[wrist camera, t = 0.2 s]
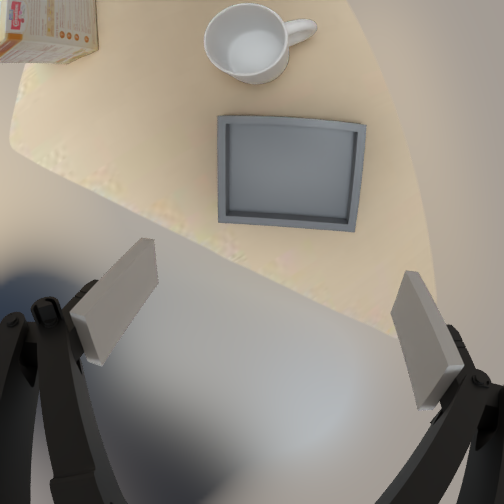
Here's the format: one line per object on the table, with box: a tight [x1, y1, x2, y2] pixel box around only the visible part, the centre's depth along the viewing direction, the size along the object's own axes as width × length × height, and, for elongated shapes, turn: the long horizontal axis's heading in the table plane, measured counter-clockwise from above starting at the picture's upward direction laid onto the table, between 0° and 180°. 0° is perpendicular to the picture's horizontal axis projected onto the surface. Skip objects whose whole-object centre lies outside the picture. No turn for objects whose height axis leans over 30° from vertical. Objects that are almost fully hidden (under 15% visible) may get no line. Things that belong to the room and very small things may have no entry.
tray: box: [217, 115, 366, 232], centre depth 39 cm, size 14×18×3 cm
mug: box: [204, 3, 317, 84], centre depth 29 cm, size 12×8×10 cm
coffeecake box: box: [0, 0, 98, 64], centre depth 23 cm, size 15×7×20 cm, turn 7°
